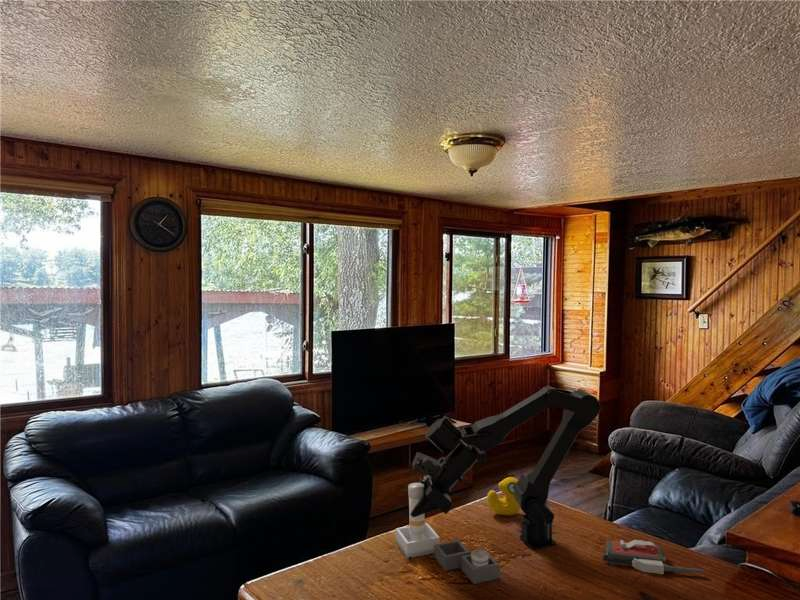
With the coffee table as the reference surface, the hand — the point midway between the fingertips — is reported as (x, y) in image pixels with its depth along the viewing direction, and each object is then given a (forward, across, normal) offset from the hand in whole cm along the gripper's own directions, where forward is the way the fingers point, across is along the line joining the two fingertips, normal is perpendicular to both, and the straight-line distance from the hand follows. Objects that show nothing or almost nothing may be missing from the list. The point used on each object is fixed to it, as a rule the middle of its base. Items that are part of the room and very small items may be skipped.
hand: (411, 512), depth 132 cm
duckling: (-13, -16, +25) cm, 32 cm away
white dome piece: (-4, +13, +16) cm, 21 cm away
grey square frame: (0, +7, +12) cm, 14 cm away
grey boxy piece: (-4, +13, +16) cm, 21 cm away
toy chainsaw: (-30, +12, +43) cm, 54 cm away
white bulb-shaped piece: (+4, 0, +6) cm, 7 cm away
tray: (+5, 0, +7) cm, 9 cm away
